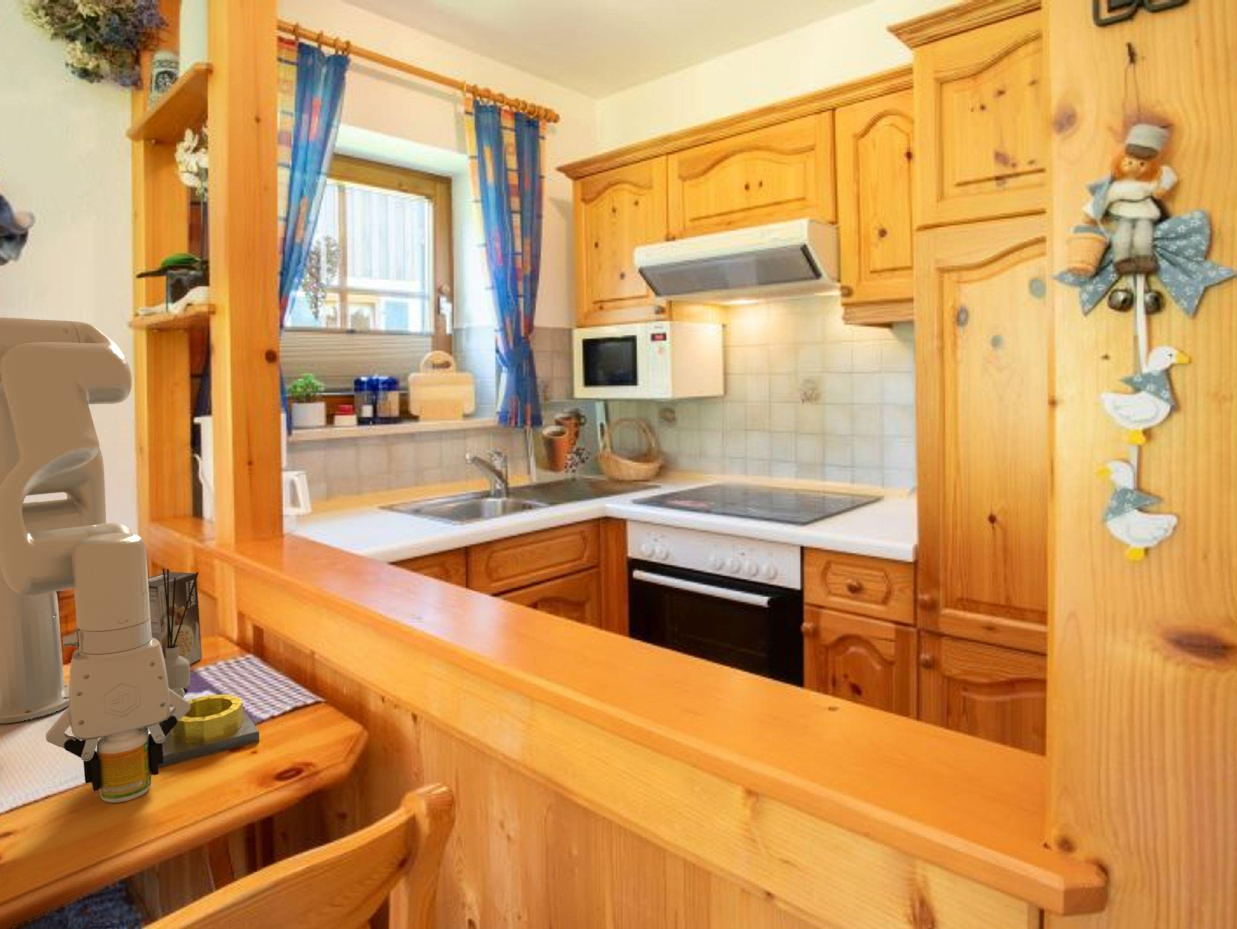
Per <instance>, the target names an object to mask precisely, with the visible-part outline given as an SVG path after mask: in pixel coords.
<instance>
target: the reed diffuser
mask: <svg viewBox="0 0 1237 929" xmlns="http://www.w3.org/2000/svg"><path fill="white" fill-rule="evenodd" d="M165 572H167V589H166V579H165ZM169 572H170V569H169V568H167V569H166V571H165V568H162V573H163V578H164V588H165V597H166V607H167V646H166V647H165V650H166V658H165V659H164V660H165V666H166V672H167V679H168V687H169V688H170V689H171V690H173V691H174V692H175V693H177V694H178V695H180V696H181V697H182V698H184V697H185V693H186V692H185V690H184V689H186V688H188V687H189V686H190V685H191V664H190V665H189V661H188V660H187V659H185V658H183V657H181V656H179V647H178V645H175V643H176V640H177V637H178V634H179V631H180V628H181V625H182V622H183V619H184V616H185V613H186V610H187V607H188V604H189V601H190V597H191V594H192V591H193V588H194V585H195V582H196V579H198V575H199V572H198V571H197V572H195V573H196V576H195V580H194V583H193V586H192V589H191V592H190V595H189V598H188V601H187V604H186V607H185V610H184V613H183V616H182V619H181V622H180V625H179V629H178V632H177V635H176V638H175V641H174V644H173V645H172V639H173V621H174V603H175V586H176V578H174V587H173V605H172V623H171V629H170V619H169ZM169 637H170V645H169Z"/></svg>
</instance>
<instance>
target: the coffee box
mask: <svg viewBox="0 0 1237 929" xmlns="http://www.w3.org/2000/svg"><path fill="white" fill-rule="evenodd" d="M196 573H197V572H180V571H169V619H170V629H171V623H172V605H173V587H174V578H176V586H175V603H174V621H173V639H172V645H173V644H174V641H175V638H176V635H177V632H178V629H179V625H180V622H181V619H182V616H183V613H184V610H185V607H186V604H187V601H188V598H189V595H190V592H191V589H192V586H193V583H194V580H195V576H196ZM165 579H166V589H167V571H165ZM197 579H198V578H197ZM197 579H196V582H195V585H194V588H193V591H192V594H191V597H190V601H189V604H188V607H187V610H186V613H185V616H184V619H183V622H182V625H181V628H180V631H179V634H178V637H177V640H176V643H175V645H178V647H179V656H181V657H183V658H185V659H187V660H188V661H189V665H190V666H191V665H192V664H193V663H196V662H197V661H200V660H202V659H203V653H202V652H203V650H202V649H203V648H202V637H201V624H200V622H201V621H200V609H199V594H198V580H197ZM148 586H149V602H150V617H151V631H152V638H155V639H157V640H158V641H159V642H160V645H161V648H162V652H163V656H164V659H165V658H166V650H165V647H166V646H167V607H166V597H165V588H164V578H163V572H162V573H159V574H155V575H152V576H148ZM169 645H170V637H169Z"/></svg>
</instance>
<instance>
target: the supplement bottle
mask: <svg viewBox="0 0 1237 929" xmlns="http://www.w3.org/2000/svg"><path fill="white" fill-rule="evenodd" d="M96 751H97V755H98V759H99V771H100V785H101V789H99V796H100V799H101V800H102V801H104V802H106V803H111V804H113V803H117V804H118V803H123V802H128V801H132V800H134V799H137V798H140V796H142V795H145V794H146V793H147V792H148V791H149V790H150V789H151V787H152V776H151V775H152V774H151V771H150V756H149V741H148V733H147V731H146V730H145V729H143V728H140V729H136V730H131V731H127V732H123V733H119V734H114V735H110V736H106V737H101V738H99V739H98V742H97V745H96Z"/></svg>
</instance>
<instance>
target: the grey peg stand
mask: <svg viewBox="0 0 1237 929" xmlns="http://www.w3.org/2000/svg"><path fill="white" fill-rule="evenodd" d="M187 701H188V702H189V704H190V705H191V708H190V710H189V711H188V712H187V713H186V714H185V715H184V716H183V717H182V718H181V719H180V720H179V721H178V722H177V724H176V725H175V726H174V727H173V729H172V730H171V731H170V732H169V733H168V734H167V735H166V737H165V740H164V741H163V742H162V746H163V764H159V765H158V769H159V768H163V767H166V766H167V767H168V766H171V765H174V764H178V763H181V762H182V763H183V762H186V761H190V760H193V759H197V758H201V757H204V756H209V755H213V754H216V753H217V754H218V753H220V752H221V753H222V752H225V751H227V750H231V749H235V748H239V747H243V746H247V745H249V744H255V743H257V742H258V743H259V742H260V730H259V729H258V728H257V726H256V725H255V723H254V722H253V721H252V719H251V717H250V716H249V715H248V714H247V711H246V710H245V709H244V707H243V706H244V702H243V701H242V700H241V698H240V697H239V696H235V695H231V694H211V695H210V694H209V695H205V696H200V697H195V698H190V699H188V700H187ZM143 729H145V730H146V731H147V733H148V736H149V734H150V731H149V730H148V728H147V727H144V728H143Z"/></svg>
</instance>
